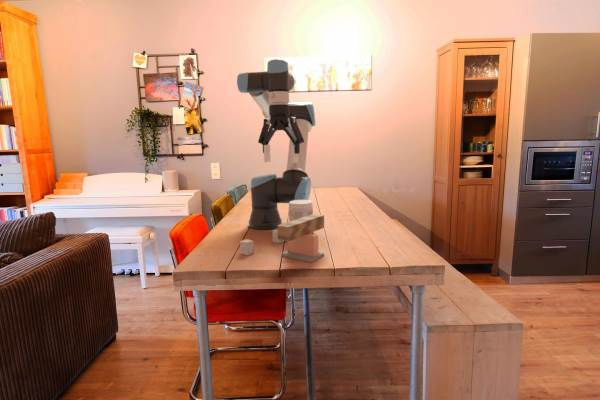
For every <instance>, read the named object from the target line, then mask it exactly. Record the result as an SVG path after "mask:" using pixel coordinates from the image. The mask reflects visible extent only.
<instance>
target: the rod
mask: <svg viewBox="0 0 600 400" xmlns="http://www.w3.org/2000/svg"><path fill="white" fill-rule="evenodd" d="M324 228H325V215H324V214H318V213H313V214H312V215H308V216H305V217H302V218H299V219H296V220H293V221H290V222H289V221H288V222H287V221H286V222H284V223H282V224H280V225H277V228H276V229H278V239H280V240H285V241H286V242H288V241H291V240H294V239H296V238H299V237H301V236H304V235H307V234H309V233H312V232H317V231H318V230H319V231H320V230H322V229H324ZM285 241H284V242H285Z"/></svg>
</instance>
